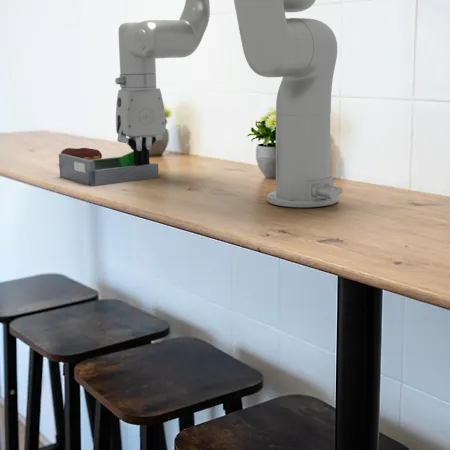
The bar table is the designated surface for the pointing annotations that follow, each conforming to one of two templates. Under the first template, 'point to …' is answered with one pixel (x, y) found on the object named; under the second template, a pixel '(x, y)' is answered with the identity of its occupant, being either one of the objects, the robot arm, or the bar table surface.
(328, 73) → the robot arm
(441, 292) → the bar table surface
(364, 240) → the bar table surface
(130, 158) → the green stepped block
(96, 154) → the donut
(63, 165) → the grey tray
